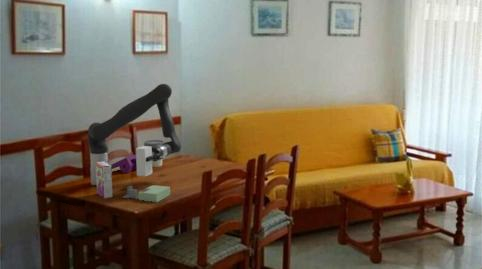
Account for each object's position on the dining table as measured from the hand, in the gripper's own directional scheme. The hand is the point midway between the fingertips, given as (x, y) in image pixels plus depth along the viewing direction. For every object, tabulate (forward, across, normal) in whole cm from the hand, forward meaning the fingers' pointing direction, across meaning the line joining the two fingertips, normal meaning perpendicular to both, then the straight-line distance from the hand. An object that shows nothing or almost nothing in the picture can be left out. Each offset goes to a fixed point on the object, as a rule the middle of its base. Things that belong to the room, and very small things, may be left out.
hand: (141, 159), depth 272 cm
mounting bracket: (-42, -38, +18) cm, 59 cm away
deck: (+4, +4, +18) cm, 19 cm away
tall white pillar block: (-3, 0, +8) cm, 9 cm away
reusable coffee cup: (-60, -26, +18) cm, 68 cm away
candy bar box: (+9, -16, +18) cm, 26 cm away
